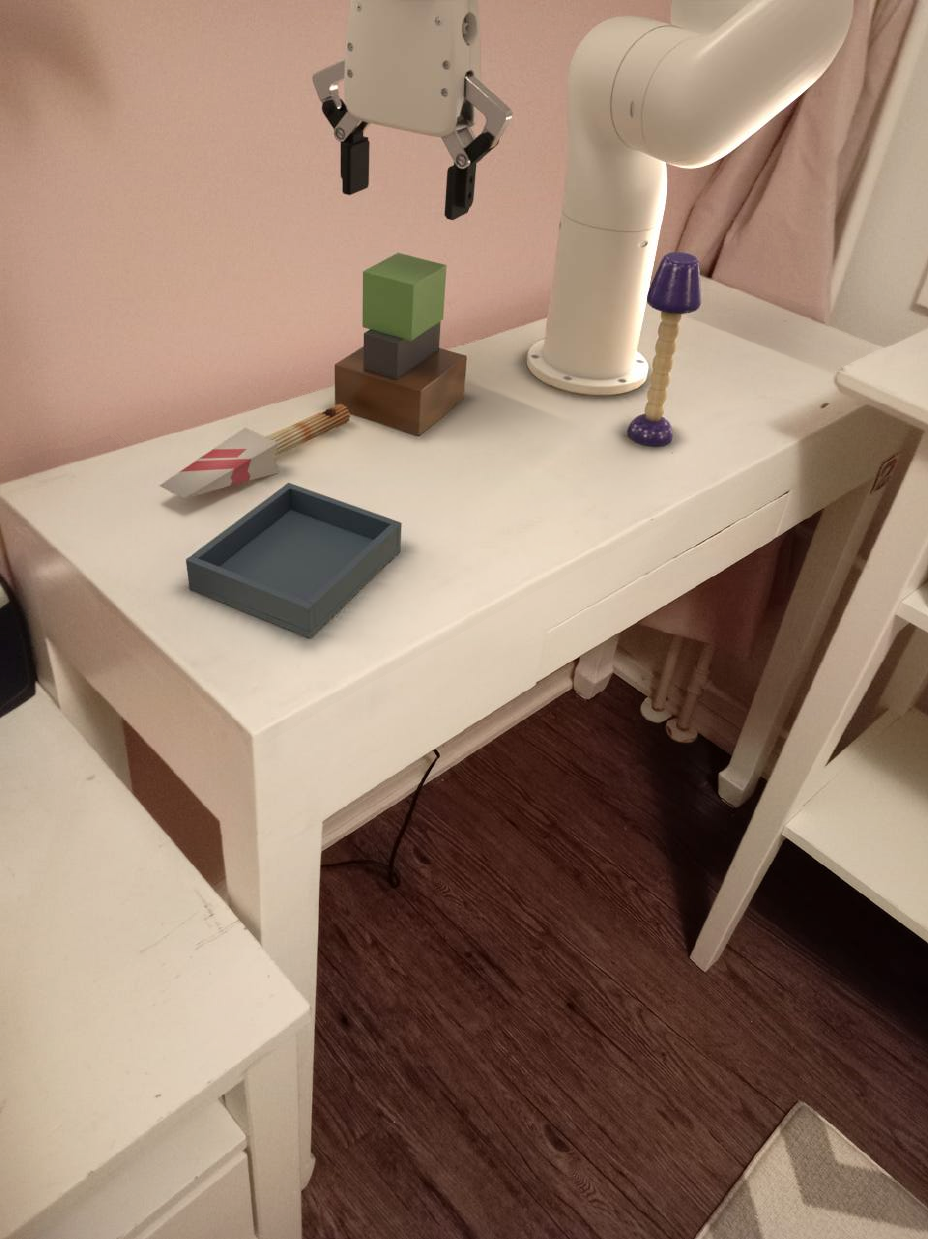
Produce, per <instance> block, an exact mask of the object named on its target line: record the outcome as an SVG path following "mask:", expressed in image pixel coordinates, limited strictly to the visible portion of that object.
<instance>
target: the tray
mask: <svg viewBox="0 0 928 1239" xmlns="http://www.w3.org/2000/svg"><path fill="white" fill-rule="evenodd" d="M401 547H402V522H401V521H398V520H395V519H393V518H390V517H386V516H384V515H381V514H378V513H376V512H372V511H370V510H367V509H364V508H362V507H359V506H356V505H353V504H350V503H348V502H345V501H342V500H338V499H336V498H333V497H330V496H328V495H325V494H322V493H319V492H317V491H313V490H311V489H308V488H305V487H302V486H299V485H297V484H294V483H290V482H286V483H285V484H284V485H283V486H282V487H281V488H279V489H277V491H275V492H274V493H272V494H271V495H270V496H268V497H267V498H266V499H264V500H263V501H261V502H260V503H259V504H258V505H256V506H255V507H253V508H252V509H251V510H250V511H249V512H247V513H245V515H243V516H241V517H240V518H239V519H238V520H236V521H235V522H234V523H232V524H231V525H230V526H229V527H227V528H226V529H224V530H223V531H221V532H220V533H219V534H218V535H216V536H215V537H214V538H213V539H211V540H210V541H208V542H207V543H206V544H204V545H203V546H202V547H200V548H199V549H198V550H196V551H195V552H193V553H192V554H191V555H190V556H188V557H187V558H186V559H185V564H186V572H187V573H186V574H187V580H188V589H189V590H191V591H193V592H195V593H198V594H200V595H203V596H204V597H208V598H210V599H213V600H215V601H217V602H220V603H222V604H224V605H226V606H229V607H232V608H234V609H236V610H239V611H242V612H244V613H247V614H249V615H251V616H253V617H256V618H259V619H261V620H263V621H266V622H268V623H271V624H274V625H276V626H278V627H280V628H282V629H285V630H287V631H290V632H293V633H295V634H298V635H300V636H302V637H305V638H307V639H312V638H313V637H314V635H315V634H317V633H318V632H319V631H320V630H321V629H322V628H323V627H324V626H325V625H326V624H327V623H328V622H329V621H330V620H331V619H332V618H333V617H334V616H335V615H336V614H338V612H340V611H341V609H343V608H344V607H345V605H346V604H348V602H350V601H351V600H352V599H353V598H354V597H355V596H356V595H357V594H358V593H359V592H360V591H361V590H362V589H363V588H364V587H365V586H366V585H367V584H368V583H369V582H370V581H371V580H372V579H373V578H374V577H376V575H377V574H379V573H380V571H382V570H383V569H384V568H385V567H386V566H387V565H388V564H389V562H391V561H392V560H393V559H394V558H395V557H396V556H397V555H398V554H399V553H400V552H401V551H402V550H401V549H402V548H401Z"/></svg>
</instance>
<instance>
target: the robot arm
mask: <svg viewBox="0 0 928 1239" xmlns="http://www.w3.org/2000/svg"><path fill="white" fill-rule="evenodd" d="M854 5H855V0H671V5H670V10H669V21H670V23H668V22H663V21H659V20H656V19H653V18H649V17H645V16H639V15H619V16H614V17H610V18H608V19H606V20H603V21H601V22H600V23H598V24H596V25H595V26H594V27H593V28H591V29H590V30H589V31H588V32H587V34H585V36H584V37H583V38H582V39H581V41H580V42H579V44H578V46H576V50H575V51H574V54H573V56H572V59H571V62H570V66H569V68H568V69H569V70H568V75H567V81H566V82H567V83H566V120H567V122H566V123H567V155H566V156H567V159H566V168H565V169H566V170H565V179H564V180H565V181H564V188H563V189H564V190H563V197H562V206H561V212H560V218H559V226H558V234H557V242H556V249H555V256H554V257H555V258H554V264H553V272H552V280H551V288H550V296H549V303H548V310H547V318H546V326H545V333H544V338H543V339H539V340H538V341H536V342H535V343H533V344H532V345H531V346H530V347H529V348H528V351H527V355H526V365H527V368H528V370H529V371H530V373H531V374H532V375H534V376H535V377H536V378H537V379H538V380H540V381H541V382H543V383H545V384H547V385H550V387H551V386H552V387H554V388H556V389H560V390H563V391H566V392H569V393H574V394H579V395H588V396H615V395H621V394H625V393H629V392H632V391H634V390H636V389H638V388H640V387H641V386H642V385H643V384H644V383H645V382H646V380H647V377H648V372H649V363H648V362H647V360H646V358H645V357H644V356H643V355H642V354H641V353H640V352H639V351H637V350H638V346H639V340H640V335H641V329H642V325H643V320H644V315H645V310H646V305H647V300H646V297H647V293H648V291H649V288H650V285H651V280H652V278H651V277H652V274H653V269H654V263H655V258H656V254H657V249H658V244H659V237H660V233H661V227H662V223H663V219H664V213H665V209H666V202H667V191H668V190H667V189H668V188H667V187H668V186H667V185H668V177H667V164H668V165H670V166H675V167H677V168H682V169H697V168H702V167H705V166H708V165H711V164H713V163H715V162H716V161H718V160H720V159H722V158H724V157H725V156H726V155H728V154H729V153H731V152H732V151H733V150H735V149H736V148H737V147H739V146H740V145H741V144H742V143H743V142H745V141H746V140H747V139H749V138H750V137H751V136H752V135H754V134H755V133H756V132H757V131H758V130H759V129H761V128H762V127H763V126H764V125H766V124H767V123H768V122H769V121H770V120H771V119H773V118H774V117H775V116H776V115H778V114H779V113H780V112H782V111H783V110H784V109H785V108H787V106H789V105H790V104H791V103H792V102H793V101H795V100H796V99H797V98H798V97H800V96H801V95H802V94H803V93H805V91H806V90H808V89H809V88H810V87H811V86H812V85H813V84H815V82H817V81H818V80H819V79H820V78H821V77H822V76H823V74H824V73H825V72H826V71H827V70H828V68H829V67H830V65H831V64H832V63H833V61H834V59H835V58H836V56H837V55H838V54H839V51H840V49H841V48H842V46H843V44H844V42H845V40H846V37H847V35H848V32H849V29H850V26H851V23H852V19H853V13H854V8H855V7H854ZM480 22H481V21H480V9H479V0H350V5H349V11H348V20H347V29H346V40H345V53H344V58H343V59H340V60H339V61H337V62H335V63H333V64H331V65H328V66H326V67H325V68H322V69H320V70H318V71H316V72H315V73H313V75H312V83H313V86H314V89H315V91H316V94H317V97H318V99H319V102H321V111H322V113H323V116H324V117H325V118H326V120H327V121H328V123H329V125H330V126H331V127H332V129H333V136H334V139H336V141H337V142H339V143H340V178H341V180H342V181H341V182H342V183H341V184H342V188H341V189H342V190H341V191H342V194H343V195H347V196H351V195H353V194H354V195H355V194H356V193H359V192H362V191H363V190H366V189H368V188H369V185H370V143H371V142H370V141H369V137H368V136H364V133H365V132H366V130H367V129H368V128H369V127H370V125H371V124H373V125H376V126H381V127H385V128H391V129H395V130H399V131H405V132H410V133H413V134H418V135H423V136H429V137H435V138H440V139H441V141H442V142H443V144H444V146H445V148H446V150H447V152H448V154H449V155H450V157H451V159H452V161H453V165H451V166H448V169H447V172H446V183H445V184H446V185H445V200H444V214H443V215H444V217H445V218H446V220H449V221H455V220H456V219H459V218H460V217H462V216H464V215H466V214H468V213H469V210H470V208H471V207H472V206H473V203H474V200H475V199H474V198H475V197H474V196H475V185H476V173H477V164H478V163H480V162H481V161H483V159H484V158H485V157H486V156H487V155H489V153H490V152H491V151H493V149H495V148H496V147H497V146H498V145H499V144H500V139H501V138H502V136H503V135H504V133H505V131H506V130H507V128H508V126H509V125H510V123H511V121H512V119H513V116H514V113H513V110H512V109H511V108H510V106H508V105H507V104H506V103H505V102H504V101H503V100H502V99H501V98H499V97H498V96H497V95H496V94H495V93H494V92H492V91H491V89H489V88H488V87H487V86H486V85H484V83H482V82H481V81H482V80H481V75H482V66H481V65H482V48H481V47H482V46H481V43H482V42H481V24H480ZM341 82H343V85H344V86H343V88H344V100H345V102H344V100H343V99H341V97H340V91H339V84H340V83H341ZM480 113H481V114H482V115H483V116H484V117H485V124H484V126H483V129H482V131H481V133H480V134H478V135H477V136H476V135H475V133H474V132H473V129H472V127H474V126H475V125H476V124H477V122H478V118H479V114H480Z"/></svg>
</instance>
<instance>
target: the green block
mask: <svg viewBox="0 0 928 1239" xmlns="http://www.w3.org/2000/svg"><path fill="white" fill-rule="evenodd" d="M446 280H447V264H444V263H440V262H435V261H432V260H428V259H424V258H421V257H416V256H412V255H409V254H404V253H401V252H396V253H395V254H392V255H391V256H389V257H386V258H385V259H383V260H382V261H379V262H378V263H376V264H374V265H372V266H370V267H367V268H366V269H365V270H363V271H362V324H361V326H362V328H364V329H368V330H370V329H371V330H374V331H378V332H381V333H385V334H388V335H392V336H395V337H399V338H402V339H406V340H409V341H412V340H413V339H415V338H416V337H418V336H419V335H421V334H422V333H424V332H425V331H427V330H428V329H430V328H431V327H433V326H434V325H436V324H437V323H439V322H440V321H441V322H442V321H443V320H444V314H445V313H444V311H445V298H446V283H447V282H446Z"/></svg>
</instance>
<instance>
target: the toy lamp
mask: <svg viewBox="0 0 928 1239" xmlns="http://www.w3.org/2000/svg"><path fill="white" fill-rule="evenodd" d="M646 304H647V305H648V306H650V307H651V308H652V309H654V310H656V311H659V312H660V319H661V322H660V323H659V326H658V330H657V335H658V339H657V340H656V342H655V348H654V349H655V350H654V351H655V355H654V357H653V359H652V372H651V373H650V375H649V385H650V386H649V388H648V390H647V394H646V398H647V402H646V404H645V406H644V413H642V414H639V415H637V416H636V417H635V418H633V420H632V421H631V422H630V423H629V425H628V427H627V430H626V433H627V436H628V437H629V438H630V439H631V440H632V441H634V442H635V443H638V444H640V445H643V446H648V447H649V446H650V447H660V446H661V447H662V446H665V445H668V444H669V443H671V442H672V440H673V428H672V425H671V422H669V420H668V419H667V418H666V417H664V413H665V403H666V400H667V397H668V390H667V388H668V387H669V385H670V381H671V374H670V373H671V371H672V369H673V366H674V357H673V356H674V354H675V352H676V349H677V341H676V340H677V338H678V336H679V333H680V325H679V323H680V322H681V321H682V317H683V315H685V314H691V313H695V312H696V311H698V310H699V309H700V307H701V305H702V288H701V272H700V263H699V259H698V257H697V256H695V255H694V254H691V253H688V252H683V251H672V252H668V253H666V254H665V255H663V256H662V258H661V260H660V262H659V265H658V267H657V270H656V272H655V274H654V277H653V279H652V281H651V283H650V285H649V289H648V293H647V297H646Z"/></svg>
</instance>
